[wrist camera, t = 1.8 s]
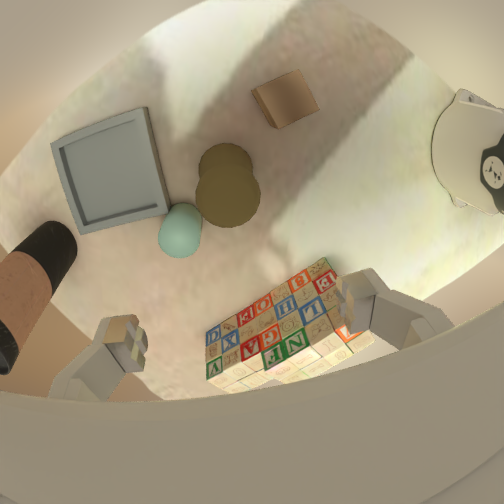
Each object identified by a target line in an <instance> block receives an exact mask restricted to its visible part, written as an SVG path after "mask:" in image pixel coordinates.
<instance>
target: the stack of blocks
mask: <svg viewBox="0 0 504 504" xmlns="http://www.w3.org/2000/svg"><path fill="white" fill-rule="evenodd" d="M336 278H337V275H336V273H335V272H334V271H333V270H332V268H331V267H330V265H329V263H328V262H327V261H326V259H325V257H323V258H322V259H320V260H319V261H317V262H316V263H314V264H313V265H311V266H310V267H308V268H307V269H304V270H303V271H301V272H300V273H298V274H297V275H295V276H294V277H292V278H291V279H289V280H288V281H286V282H285V283H283V284H281V285H280V286H278V287H277V288H275V289H274V290H272V291H271V292H270V293H269V294H267V295H266V296H264V297H263V298H261V299H260V300H258V301H256V302H255V303H254V304H252V305H251V306H249V307H247V308H246V309H244V310H243V311H241V312H240V313H238V314H237V315H234V316H232V317H231V318H229V319H227V320H226V321H224V322H223V323H221V324H219V325H218V326H216V327H214V328H213V329H211V330H210V331H208V332H207V333H206V354H205V356H206V378H207V381H208V382H210V383H212V384H213V385H215V386H217V387H218V388H220V389H223V390H225V391H226V392H228V393H230V394H233V393H239V392H246V391H248V390H250V389H253V388H255V387H257V386H259V385H261V384H263V383H265V382H267V381H269V380H272V379H274V378H275V379H277V380H279V381H281V382H282V383H284V384H288V383H292V382H297V381H301V380H305V379H309V378H313V377H316V376H318V375H319V374H321V373H323V372H325V371H326V370H328V369H330V368H331V367H333V366H335V365H337V364H339V363H340V362H342V361H344V360H345V359H347V358H349V357H350V356H352V355H353V354H355V353H358V352H359V351H361V350H362V349H364V348H366V347H367V346H369V345H370V344H372V343H374V342H375V339H374V337H373V335H372V333H371V332H370V330H366V331H362V332H359V333H355V334H351V335H350V333H349V331H348V329H347V328H346V326H345V324H344V320H345V318H344V317H342V316H340V314H339V312H338V310H337V307H336V301H335V294H336V292H337V291H338V288H337V286H336Z"/></svg>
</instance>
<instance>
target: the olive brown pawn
mask: <svg viewBox="0 0 504 504" xmlns="http://www.w3.org/2000/svg"><path fill="white" fill-rule="evenodd" d="M252 169H253V166H252V162H251V159H250V157H249V155H248V154H247V152H246V151H244V150H243V149H242V148H241V147H239V146H236V145H234V144H225V143H222V144H219V145H215V146H213V147H212V148H210V149H208V150H207V151H206V152H205V154H204V155H203V156H202V157H201V160H200V163H199V177H200V180H199V183H198V186H197V189H196V204H197V207H198V210H199V212H200V213H201V214H202V216H203V217H204V218H205V219H206V220H207V221H209V222H210V223H211V224H213V225H216V226H219V227H222V228H232V227H236V226H240V225H242V224H244V223H245V222H247V221H249V220H250V219H251V218H252V216H253V215H254V214H255V213H256V211H257V208H258V206H259V204H260V195H261V192H260V188H259V184H258V182H257V180H256V179H255V177H254V176H253V174H252Z"/></svg>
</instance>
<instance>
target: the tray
mask: <svg viewBox="0 0 504 504" xmlns="http://www.w3.org/2000/svg"><path fill="white" fill-rule="evenodd" d="M50 145H51V149H52V152H53V156H54V160H55V163H56V167H57V170H58V174H59V177H60V180H61V183H62V186H63V189H64V192H65V195H66V198H67V201H68V204H69V207H70V210H71V212H72V215H73V218H74V220H75V223H76V225H77V228H78V231H79V233H80V235H84V234H87V233H91V232H95V231H98V230H102V229H106V228H110V227H114V226H118V225H122V224H126V223H130V222H134V221H138V220H142V219H146V218H150V217H155V216H159V215H163V214H168V213H169V211H170V209H171V204H170V200H169V197H168V193H167V189H166V185H165V181H164V178H163V174H162V170H161V166H160V162H159V157H158V153H157V149H156V145H155V141H154V136H153V132H152V127H151V123H150V118H149V113H148V108H147V107H142V108H139V109H136V110H132V111H129V112H126V113H123V114H120V115H118V116H115V117H112V118H109V119H106V120H104V121H101V122H98V123H96V124H93V125H91V126H88V127H86V128H83V129H81V130H79V131H76V132H74V133H72V134H70V135H67V136H65V137H63V138H61V139H59V140H56V141H54V142H52V143H50Z"/></svg>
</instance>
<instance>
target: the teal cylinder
mask: <svg viewBox="0 0 504 504" xmlns="http://www.w3.org/2000/svg"><path fill="white" fill-rule="evenodd" d="M201 226H202V216H201V214H200V212H199V210H198V209H197V208H196V207H194V206H193V205H191V204H188V203H179V204H176V205H174V206H172V207H171V209H170V211H169V213H168V214H166V216H165V219H164V221H163V224H162V226H161V229H160V231H159V234H158V242H159V245H160V247H161V249H162V250H163V251H164V252H165V253H166V254H167V255H169V256H171V257H174V258H185V257H188V256H190V255H192V254H193V253H194V252H195V251H196V250H197V249H198V247H199V243H200V234H201Z"/></svg>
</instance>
